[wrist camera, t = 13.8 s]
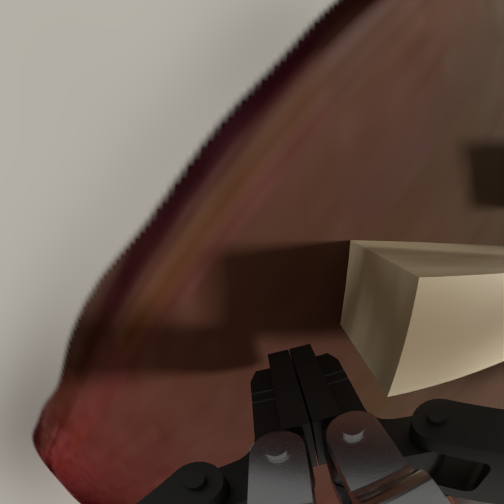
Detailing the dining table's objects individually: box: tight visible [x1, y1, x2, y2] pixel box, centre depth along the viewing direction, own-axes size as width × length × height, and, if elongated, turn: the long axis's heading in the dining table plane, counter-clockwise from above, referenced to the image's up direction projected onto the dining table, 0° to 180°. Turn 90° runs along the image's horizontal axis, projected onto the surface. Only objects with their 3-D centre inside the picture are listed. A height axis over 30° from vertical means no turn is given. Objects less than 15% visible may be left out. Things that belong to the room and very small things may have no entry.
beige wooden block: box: [340, 240, 504, 397], centre depth 9 cm, size 4×12×5 cm, turn 89°
